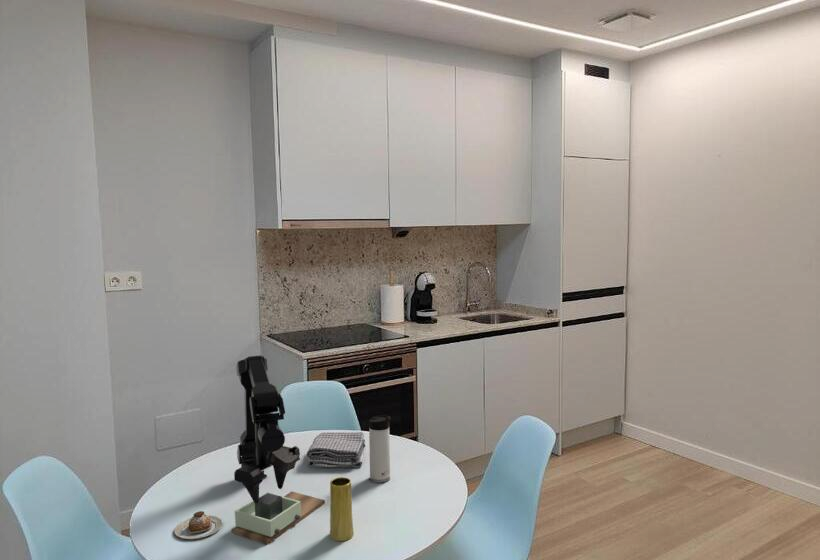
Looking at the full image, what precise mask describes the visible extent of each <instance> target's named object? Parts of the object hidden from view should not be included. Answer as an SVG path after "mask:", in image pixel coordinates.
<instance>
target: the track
mask: <svg viewBox="0 0 820 560" xmlns="http://www.w3.org/2000/svg"><path fill="white" fill-rule="evenodd" d="M283 497H286V498H290V499H294V500H297V501H301V516H300V519H299V520H297V519H296V520H294V521H293V522H292V523H290V524H289V525H287V526H286V527H284V528H283V529H282V530H280V533H279V534H275V535H273V536H272V537H269V536H266V535H263V534H260V533H257V532H253V531H250V530H247V529H244V528H241V527H237V526H235V527H233V528H231V533H232V534H233V535H238V536H240V537H243V538H245V539H246V538H247V539H249V540H252V541H255V542H258V541H259V542H260V543H261V542H262V544H266V545H269V544H271V541H272V542H273V541H275V540H276V539H277V538H279V537H280V536H282V535H283V534H284V533H286V532H287V531H289V530H290V529H292V527H294V526H296V525H297V524H298V523H299V522H301V521H303V520H304V519H306V517H308V516H310V515H311V514H313V513H314V512H315V511H317V510H318V509H319V508H321V507H322V506H323V505H325V504H326V499H322V498H320V497H319V498H318V497H314V496H312V495H311V496H310V495H306V494H303V493H300V492H295V491H290V492H288V493H287V494H286V495H283ZM274 539H275V540H274Z"/></svg>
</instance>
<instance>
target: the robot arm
mask: <svg viewBox="0 0 820 560" xmlns="http://www.w3.org/2000/svg"><path fill="white" fill-rule="evenodd" d="M235 366H236V369H235V370H236V376H237V377H238V378H239V382H240V384H241V386H242V387H243V388H244V391H243V392H244V431H243V432H242V433H241V435H240V436H239V444H238V445H237V448H236V449H237V451H236V457H237V463H238V465H240V466H241V467H239V468H237V469H236V470H235V471H234V472H233V473H234V479H233V480H234V481H235V482H238V483H240V484H242V485H243V486H244V487H245V489H246V491H247V492H248V494H249V496H250V498H251V500H252V501H254V503H258V502H259V496H260V485H261V483H263V480H264V479H265V478H267V477H268V474H265V471H266V470H267V469H270V468H271V467H272V468H273V471H274V477H275V481H276V485H277V488H278V489H279V490H282V489H283V487H284V483H285V480H286V477H287V474H288V472H289V471H290V470H293V469H295V466H296V464H297V462H299V461H300V459H301V458H300V455H301V454H300V453H301V452H300V447H298V446H297V445H295V446H292V447H289V446H285V445H284V444H285V441H286V437H285V434H284V433H283V431H282V429H281V427H280V425H279V421H280V420H281V421H282V420H285V417H284V415H285V414H286V410H285V409H286V408H285V403H284V400H283V399H284V398H283V397H282V394H281V393H279V392H278V391H279V390H278V389H277V387H276V386H275V385H273V384H272V383H270V380H269V377H268V374H267V372H268V371H269V370H268V359H267V358H265V357H264V355H250V356H247V357H245V358H244V359H241V360H238V361H237V362H236V365H235Z"/></svg>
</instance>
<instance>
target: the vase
mask: <svg viewBox="0 0 820 560" xmlns="http://www.w3.org/2000/svg"><path fill="white" fill-rule="evenodd" d="M329 487H330V488H329V489H330V506H329V507H330V509H329V511H330V513H329V514H330V518H329V522H330V523H329V538H330V539H331V540H333V541H336V542H345V541H348V540H351V539H352V538H353V536H354V534H355V531H354V526H353V525H354V523H353V505H352V501H353V500H352V481H351V478H348V477H344V476H341V477H340V476H339V477H335V478H332V479H331V480H330V483H329Z"/></svg>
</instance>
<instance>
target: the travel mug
mask: <svg viewBox="0 0 820 560" xmlns="http://www.w3.org/2000/svg"><path fill="white" fill-rule="evenodd" d="M390 420H391V416H390V415H383V414H382V415H376V416H373V417H371V418H370V419H369V421H368V422H369V425H368V427H369V428H368V429H369V431H368V432H369V433H368V434H369V435H368V436H369V437H368V439H369V441H368V442H369V444H368V445H369V480H370V482H373V483H376V484H383V482H384V483H386V482H388V481H390V479H391V461H390V460H391V456H390V455H391V452H390V451H391V450H390V447H391V445H390Z"/></svg>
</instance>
